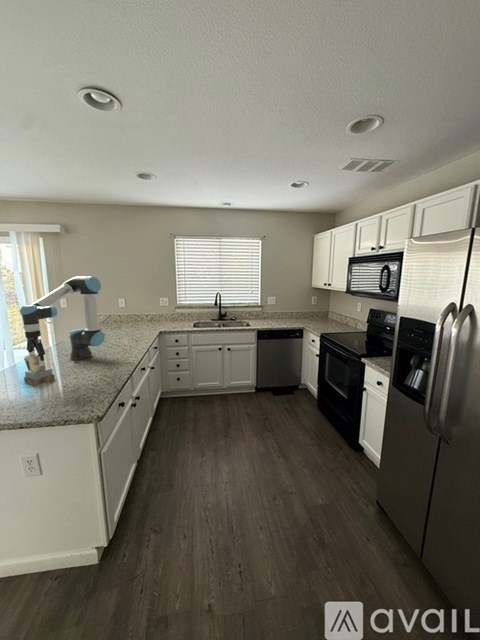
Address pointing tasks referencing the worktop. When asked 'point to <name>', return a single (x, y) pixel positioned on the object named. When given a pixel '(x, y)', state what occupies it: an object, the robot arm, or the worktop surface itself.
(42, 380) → the base slab
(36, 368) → the birch block
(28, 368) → the disposable coffee cup
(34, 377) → the top slab
